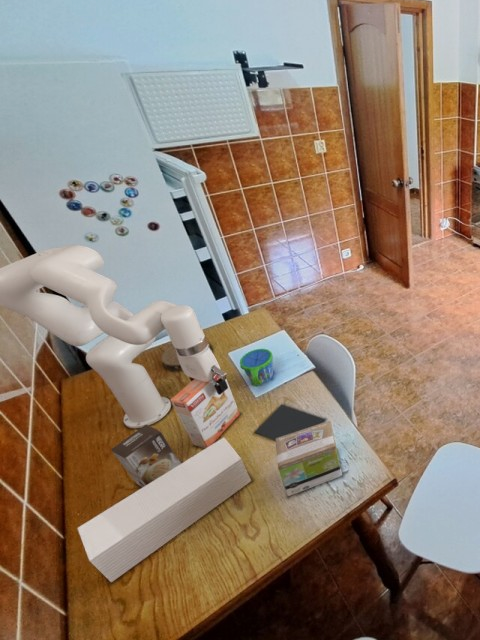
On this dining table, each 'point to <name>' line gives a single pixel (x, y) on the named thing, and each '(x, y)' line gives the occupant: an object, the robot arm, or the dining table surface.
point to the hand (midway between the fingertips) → (211, 387)
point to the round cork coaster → (172, 359)
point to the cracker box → (205, 411)
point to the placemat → (287, 422)
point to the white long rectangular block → (162, 509)
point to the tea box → (307, 458)
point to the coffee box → (146, 455)
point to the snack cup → (258, 366)
